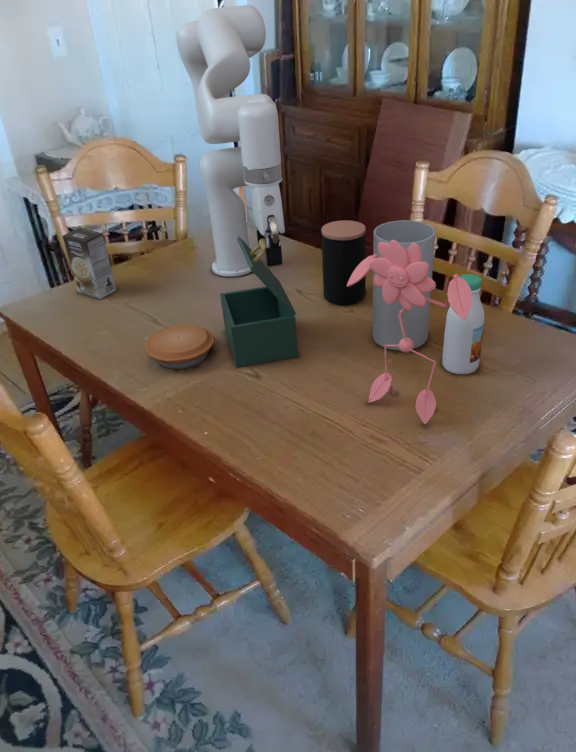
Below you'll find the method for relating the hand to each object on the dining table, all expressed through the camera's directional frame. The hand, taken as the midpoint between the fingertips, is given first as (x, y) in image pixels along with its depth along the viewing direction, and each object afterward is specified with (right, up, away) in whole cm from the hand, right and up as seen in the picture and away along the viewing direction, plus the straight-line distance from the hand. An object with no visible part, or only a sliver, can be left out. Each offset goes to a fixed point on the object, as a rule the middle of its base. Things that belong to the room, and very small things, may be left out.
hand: (270, 256), depth 140 cm
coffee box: (-49, +1, +39) cm, 62 cm away
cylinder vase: (+29, -16, +11) cm, 35 cm away
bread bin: (-3, -17, +12) cm, 21 cm away
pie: (-20, -20, +10) cm, 30 cm away
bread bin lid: (-1, -4, +2) cm, 5 cm away
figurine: (+24, -35, -13) cm, 44 cm away
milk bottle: (+40, -23, 0) cm, 47 cm away
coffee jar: (+18, -3, +28) cm, 34 cm away
